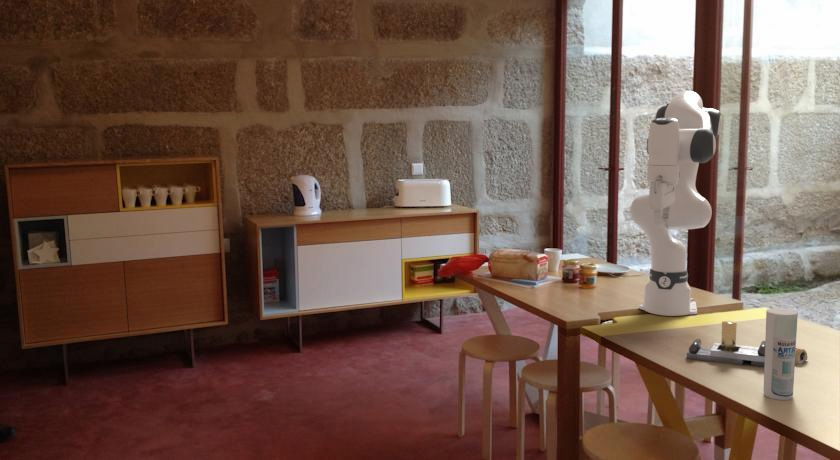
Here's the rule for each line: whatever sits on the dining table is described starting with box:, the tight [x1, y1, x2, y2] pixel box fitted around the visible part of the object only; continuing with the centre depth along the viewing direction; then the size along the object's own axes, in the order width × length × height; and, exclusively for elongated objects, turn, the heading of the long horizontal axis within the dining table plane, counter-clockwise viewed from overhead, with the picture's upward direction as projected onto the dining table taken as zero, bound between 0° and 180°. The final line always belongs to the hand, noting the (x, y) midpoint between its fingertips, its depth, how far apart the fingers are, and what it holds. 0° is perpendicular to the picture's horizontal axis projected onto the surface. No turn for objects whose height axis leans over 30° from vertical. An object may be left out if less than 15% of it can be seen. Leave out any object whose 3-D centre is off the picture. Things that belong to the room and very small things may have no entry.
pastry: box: [795, 347, 808, 366], centre depth 208 cm, size 9×7×4 cm
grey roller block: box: [686, 338, 765, 368], centre depth 209 cm, size 20×8×5 cm, turn 61°
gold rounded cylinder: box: [720, 320, 738, 352], centre depth 209 cm, size 4×4×10 cm
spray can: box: [763, 307, 799, 401], centre depth 180 cm, size 6×6×20 cm
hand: (662, 222), depth 227 cm, fingers open, 8 cm apart
